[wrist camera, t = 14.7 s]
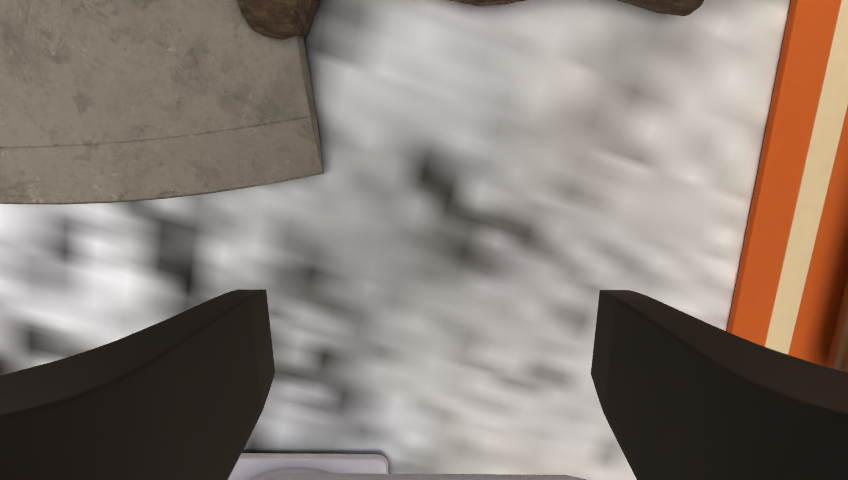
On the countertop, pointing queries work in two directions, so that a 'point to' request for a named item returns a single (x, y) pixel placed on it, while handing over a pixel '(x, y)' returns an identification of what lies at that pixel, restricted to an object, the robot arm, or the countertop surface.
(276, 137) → the cleaver
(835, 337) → the rolling pin
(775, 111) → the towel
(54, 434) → the robot arm
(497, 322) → the countertop surface
